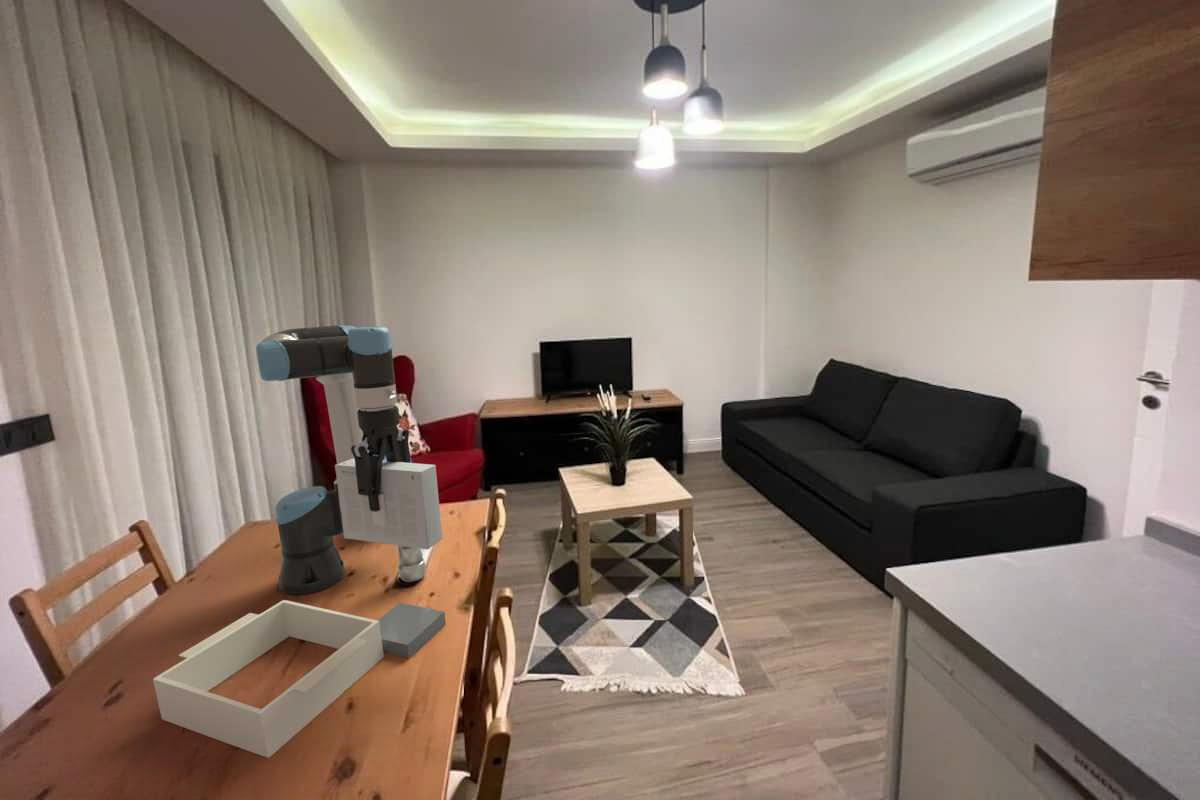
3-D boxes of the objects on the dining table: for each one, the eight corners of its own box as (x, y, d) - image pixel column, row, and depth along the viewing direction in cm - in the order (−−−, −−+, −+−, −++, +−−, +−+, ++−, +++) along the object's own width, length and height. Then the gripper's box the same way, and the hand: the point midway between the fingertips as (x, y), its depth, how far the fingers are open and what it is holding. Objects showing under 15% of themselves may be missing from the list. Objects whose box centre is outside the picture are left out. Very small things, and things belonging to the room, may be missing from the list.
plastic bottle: (432, 574, 142) (424, 501, 138) (413, 587, 136) (404, 511, 132) (413, 570, 145) (404, 498, 141) (393, 582, 139) (384, 507, 135)
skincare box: (445, 538, 112) (437, 463, 109) (428, 551, 107) (419, 473, 104) (361, 527, 119) (351, 456, 116) (342, 538, 114) (331, 465, 111)
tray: (152, 716, 97) (143, 675, 96) (280, 631, 121) (275, 597, 119) (280, 762, 86) (272, 717, 85) (393, 659, 110) (389, 623, 108)
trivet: (361, 646, 114) (359, 633, 114) (401, 614, 125) (399, 602, 125) (409, 658, 110) (407, 645, 109) (445, 624, 121) (444, 611, 120)
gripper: (357, 418, 98) (372, 540, 103) (423, 398, 115) (434, 504, 119) (325, 416, 101) (341, 535, 105) (394, 397, 117) (406, 500, 122)
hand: (390, 518), depth 112 cm, fingers closed on skincare box, 5 cm apart
